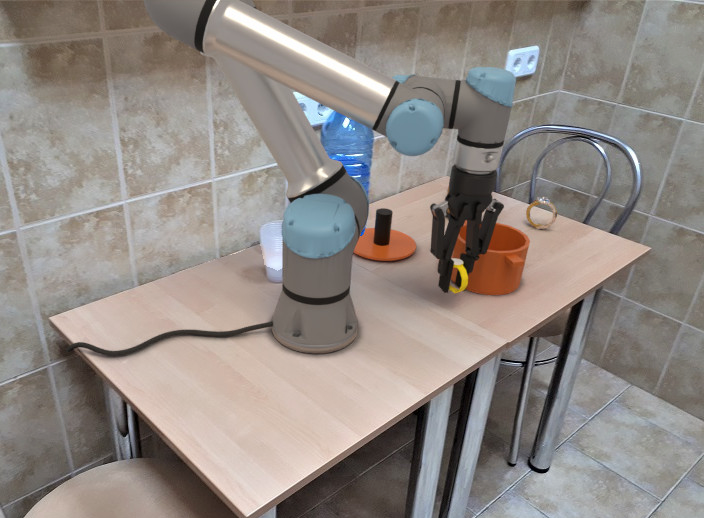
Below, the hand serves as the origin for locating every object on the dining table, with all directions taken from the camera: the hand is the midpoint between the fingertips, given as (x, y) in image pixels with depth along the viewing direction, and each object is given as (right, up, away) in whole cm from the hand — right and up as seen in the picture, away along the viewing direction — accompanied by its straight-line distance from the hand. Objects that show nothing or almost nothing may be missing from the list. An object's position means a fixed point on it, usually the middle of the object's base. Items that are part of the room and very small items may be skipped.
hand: (451, 288), depth 114 cm
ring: (+29, +15, +36) cm, 49 cm away
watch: (0, 0, 0) cm, 1 cm away
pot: (+10, +3, +14) cm, 17 cm away
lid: (-11, +10, +24) cm, 28 cm away
